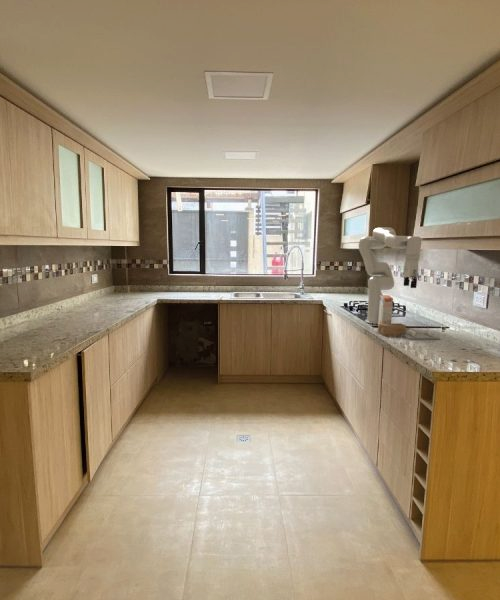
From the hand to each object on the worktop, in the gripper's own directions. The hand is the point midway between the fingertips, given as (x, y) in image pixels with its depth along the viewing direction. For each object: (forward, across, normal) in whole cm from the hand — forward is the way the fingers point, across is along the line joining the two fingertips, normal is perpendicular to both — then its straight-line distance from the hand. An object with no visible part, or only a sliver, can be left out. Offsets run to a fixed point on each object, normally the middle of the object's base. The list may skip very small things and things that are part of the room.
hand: (409, 286), depth 220 cm
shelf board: (+28, +4, -10) cm, 30 cm away
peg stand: (+28, +11, +4) cm, 30 cm away
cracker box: (+28, -9, -10) cm, 31 cm away
